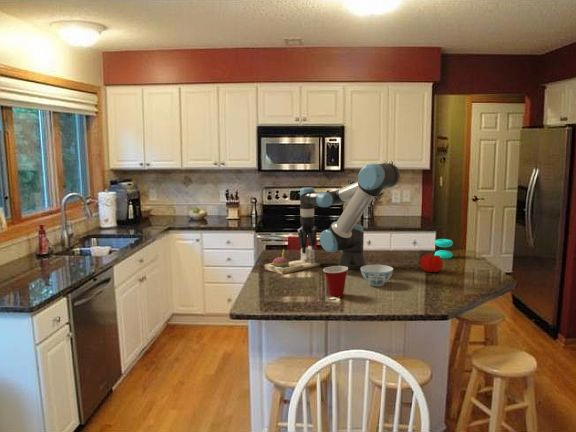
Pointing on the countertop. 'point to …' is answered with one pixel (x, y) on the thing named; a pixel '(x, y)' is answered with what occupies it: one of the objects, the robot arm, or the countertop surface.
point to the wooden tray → (295, 264)
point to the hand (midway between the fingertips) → (307, 258)
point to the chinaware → (376, 274)
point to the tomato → (431, 263)
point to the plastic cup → (336, 279)
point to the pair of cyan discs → (444, 253)
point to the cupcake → (281, 261)
